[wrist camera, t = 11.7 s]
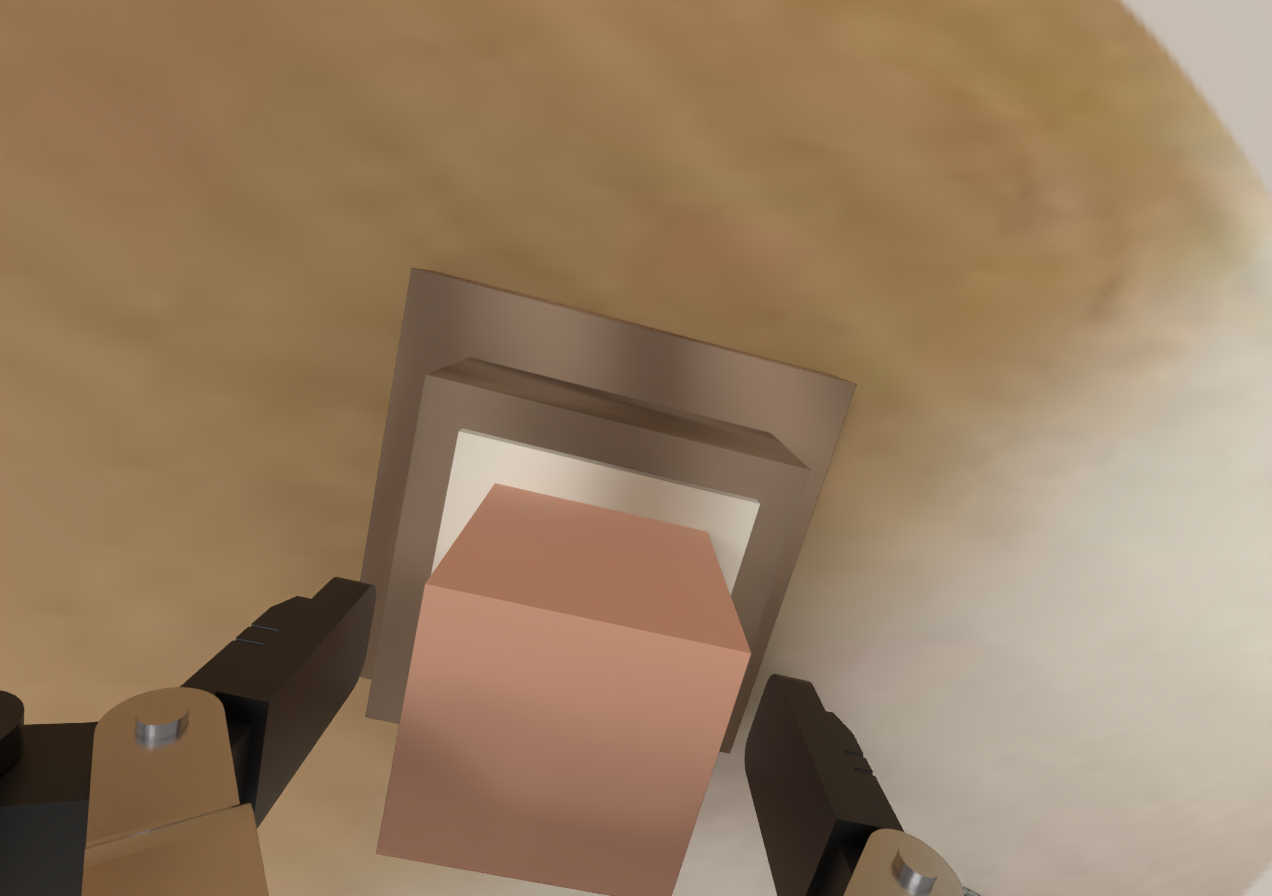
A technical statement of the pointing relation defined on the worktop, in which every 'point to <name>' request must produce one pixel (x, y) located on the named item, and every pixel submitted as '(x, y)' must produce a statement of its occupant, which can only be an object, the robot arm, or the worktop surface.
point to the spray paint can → (969, 892)
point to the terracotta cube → (564, 698)
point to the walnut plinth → (587, 449)
